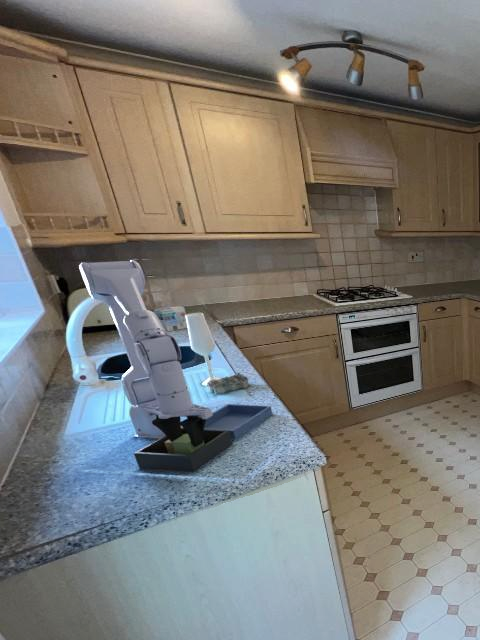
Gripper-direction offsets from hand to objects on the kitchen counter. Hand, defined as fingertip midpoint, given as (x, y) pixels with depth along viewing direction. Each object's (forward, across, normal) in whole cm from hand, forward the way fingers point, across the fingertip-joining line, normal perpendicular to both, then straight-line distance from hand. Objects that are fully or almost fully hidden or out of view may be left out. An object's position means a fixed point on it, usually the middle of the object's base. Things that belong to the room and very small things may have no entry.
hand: (188, 443), depth 94 cm
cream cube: (+4, -4, +2) cm, 6 cm away
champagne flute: (+4, -33, +47) cm, 58 cm away
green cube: (+2, 0, 0) cm, 2 cm away
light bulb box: (+4, -107, +113) cm, 156 cm away
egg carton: (+4, -23, +42) cm, 48 cm away
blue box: (+4, -3, +17) cm, 18 cm away
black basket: (+4, -2, +1) cm, 5 cm away
